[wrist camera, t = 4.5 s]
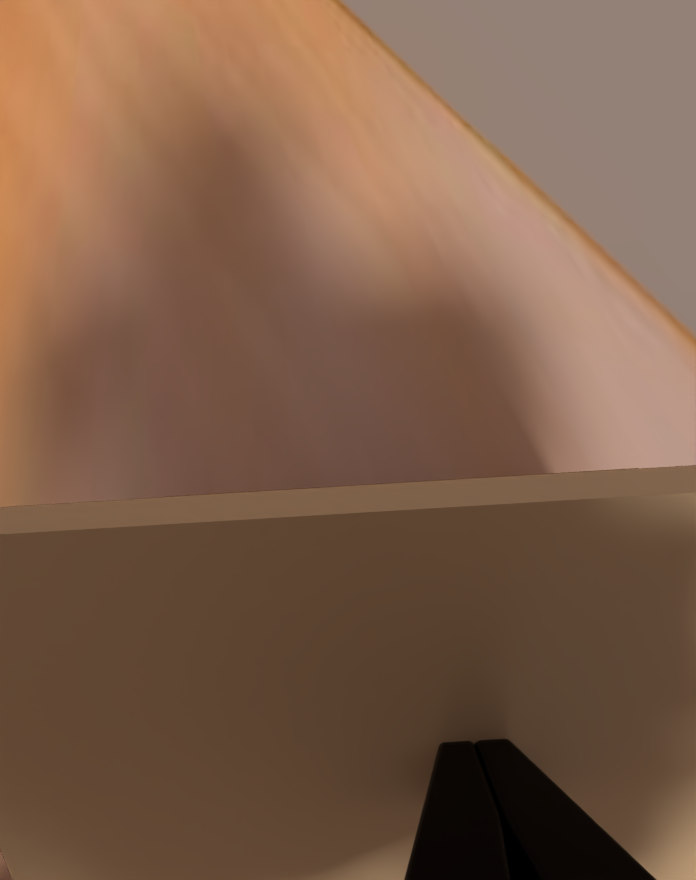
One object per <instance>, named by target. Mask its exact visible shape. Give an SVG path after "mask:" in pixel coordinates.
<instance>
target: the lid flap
mask: <svg viewBox="0 0 696 880" xmlns="http://www.w3.org/2000/svg"><path fill="white" fill-rule="evenodd" d="M491 739H508V740H510V741H511V742H512V743H513V744H514V745H515V746H517V747H518V748H519V749H520V750H521V751H522V752H523V753H524V754H525V755H526V756H527V757H528V758H529V759H530V760H531V761H532V762H533V763H534V764H535V765H537V766H538V767H539V768H540V769H541V770H542V771H543V772H544V773H545V774H546V775H547V776H548V777H549V778H550V779H551V780H552V781H553V782H554V783H555V784H557V785H558V786H559V787H560V788H561V789H562V790H563V791H564V792H565V793H566V794H567V795H568V796H569V797H570V798H571V799H572V800H573V801H574V802H575V803H577V804H578V805H579V806H580V807H581V808H582V809H583V810H584V811H585V812H586V813H587V814H588V815H589V816H590V817H591V818H592V819H593V820H594V821H595V822H597V823H598V824H599V825H600V826H601V827H602V828H603V829H604V830H605V831H606V832H607V833H608V834H609V835H610V836H611V837H612V838H613V839H614V840H615V841H616V842H618V843H619V844H620V845H621V846H622V847H623V848H624V849H625V850H626V851H627V852H628V853H629V854H630V855H631V856H632V857H633V858H634V859H635V860H636V861H638V862H639V863H640V864H641V865H642V866H643V867H644V868H645V869H646V870H647V871H648V872H649V873H650V874H651V875H652V876H653V877H654V878H655V879H656V880H696V465H691V466H675V467H658V468H642V469H625V470H608V471H592V472H575V473H559V474H542V475H526V476H509V477H493V478H476V479H459V480H443V481H426V482H410V483H393V484H377V485H360V486H343V487H327V488H310V489H294V490H277V491H261V492H244V493H228V494H211V495H194V496H178V497H161V498H145V499H128V500H112V501H95V502H79V503H62V504H45V505H29V506H12V507H0V850H1V852H2V855H3V857H4V860H5V862H6V865H7V867H8V870H9V872H10V875H11V877H12V880H404V878H405V875H406V871H407V867H408V863H409V859H410V855H411V851H412V847H413V843H414V840H415V836H416V832H417V828H418V824H419V820H420V816H421V812H422V809H423V805H424V801H425V797H426V793H427V789H428V785H429V781H430V778H431V774H432V770H433V766H434V762H435V758H436V754H437V750H438V747H439V745H440V744H441V743H443V742H456V741H470V742H472V743H473V744H474V745H475V744H476V742H478V741H479V740H491Z"/></svg>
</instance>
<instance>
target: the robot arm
mask: <svg viewBox="0 0 696 880" xmlns="http://www.w3.org/2000/svg"><path fill="white" fill-rule="evenodd" d="M404 880H656V879H655V878H654V877H653V876H652V875H651V874H650V873H649V872H648V871H647V870H646V869H645V868H644V867H643V866H642V865H641V864H640V863H639V862H638V861H636V860H635V859H634V858H633V857H632V856H631V855H630V854H629V853H628V852H627V851H626V850H625V849H624V848H623V847H622V846H621V845H620V844H619V843H618V842H616V841H615V840H614V839H613V838H612V837H611V836H610V835H609V834H608V833H607V832H606V831H605V830H604V829H603V828H602V827H601V826H600V825H599V824H598V823H597V822H595V821H594V820H593V819H592V818H591V817H590V816H589V815H588V814H587V813H586V812H585V811H584V810H583V809H582V808H581V807H580V806H579V805H578V804H577V803H575V802H574V801H573V800H572V799H571V798H570V797H569V796H568V795H567V794H566V793H565V792H564V791H563V790H562V789H561V788H560V787H559V786H558V785H557V784H555V783H554V782H553V781H552V780H551V779H550V778H549V777H548V776H547V775H546V774H545V773H544V772H543V771H542V770H541V769H540V768H539V767H538V766H537V765H535V764H534V763H533V762H532V761H531V760H530V759H529V758H528V757H527V756H526V755H525V754H524V753H523V752H522V751H521V750H520V749H519V748H518V747H517V746H515V745H514V744H513V743H512V742H511V741H510V740H508V739H491V740H479V741H478V742H476V744H475V745H474V744H473V743H472V742H470V741H456V742H443V743H441V744H440V745H439V747H438V750H437V754H436V758H435V762H434V766H433V770H432V774H431V778H430V781H429V785H428V789H427V793H426V797H425V801H424V805H423V809H422V812H421V816H420V820H419V824H418V828H417V832H416V836H415V840H414V843H413V847H412V851H411V855H410V859H409V863H408V867H407V871H406V875H405V878H404Z"/></svg>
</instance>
